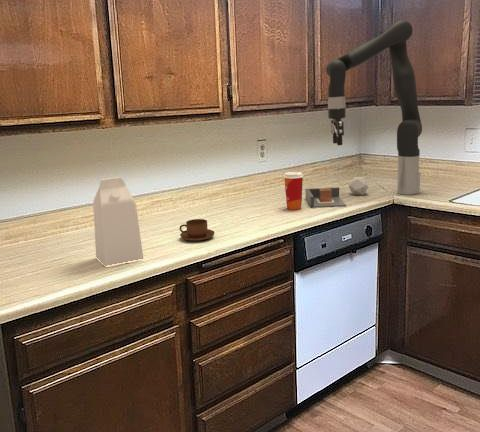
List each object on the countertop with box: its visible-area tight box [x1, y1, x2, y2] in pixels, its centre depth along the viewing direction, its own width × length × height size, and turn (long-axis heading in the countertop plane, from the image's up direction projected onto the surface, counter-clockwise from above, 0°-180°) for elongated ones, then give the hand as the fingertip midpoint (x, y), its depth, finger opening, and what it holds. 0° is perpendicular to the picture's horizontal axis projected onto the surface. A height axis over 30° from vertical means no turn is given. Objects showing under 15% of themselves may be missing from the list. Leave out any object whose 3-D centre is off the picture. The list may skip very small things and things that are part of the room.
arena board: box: [304, 187, 347, 209], centre depth 236 cm, size 15×18×5 cm
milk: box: [92, 176, 144, 266], centre depth 168 cm, size 12×12×26 cm
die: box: [348, 176, 369, 196], centre depth 249 cm, size 8×9×10 cm
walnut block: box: [318, 187, 332, 202], centre depth 236 cm, size 5×5×5 cm
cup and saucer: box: [179, 218, 215, 242], centre depth 190 cm, size 12×12×6 cm
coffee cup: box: [283, 171, 304, 211], centre depth 226 cm, size 8×8×15 cm
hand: (337, 144), depth 243 cm, fingers open, 8 cm apart
